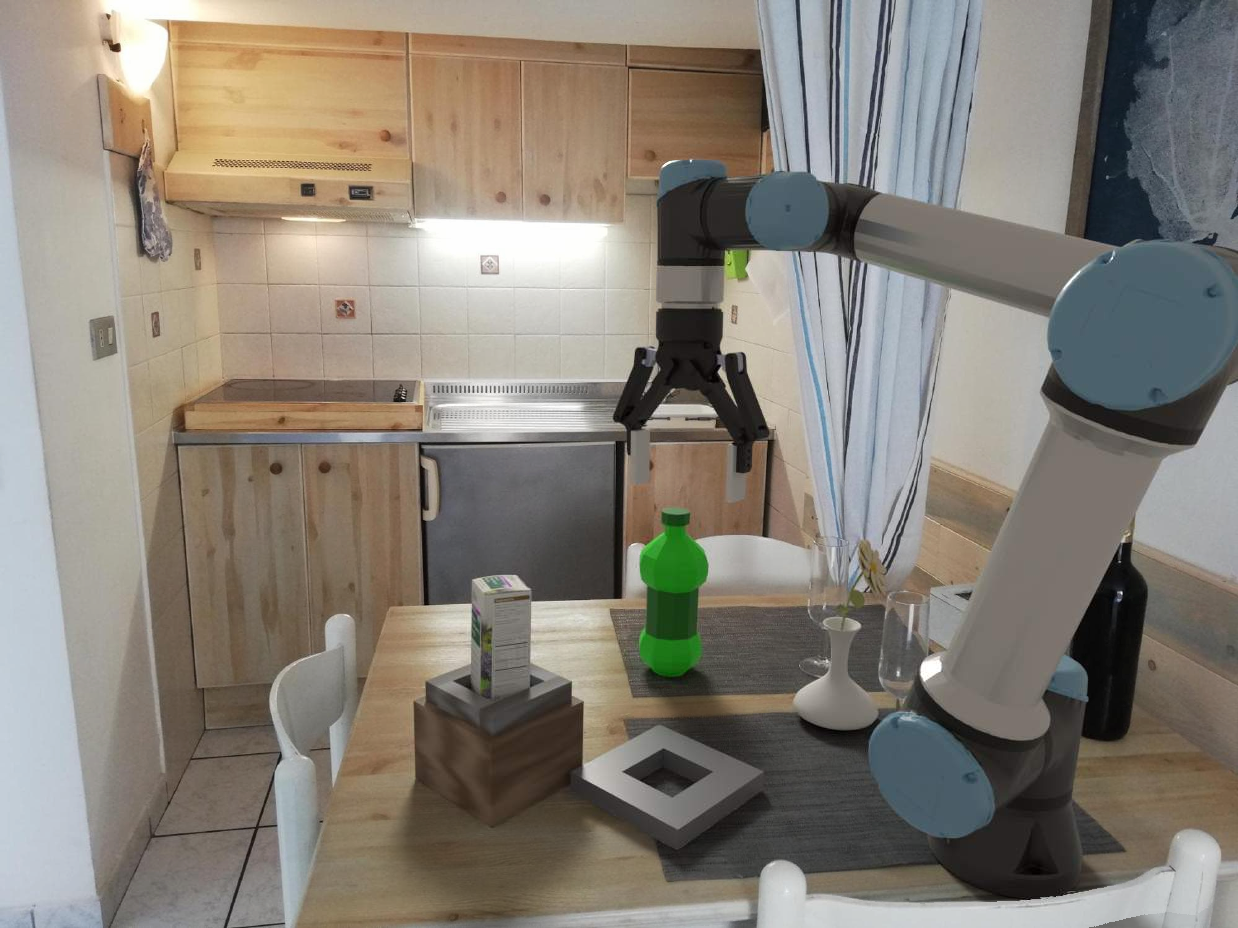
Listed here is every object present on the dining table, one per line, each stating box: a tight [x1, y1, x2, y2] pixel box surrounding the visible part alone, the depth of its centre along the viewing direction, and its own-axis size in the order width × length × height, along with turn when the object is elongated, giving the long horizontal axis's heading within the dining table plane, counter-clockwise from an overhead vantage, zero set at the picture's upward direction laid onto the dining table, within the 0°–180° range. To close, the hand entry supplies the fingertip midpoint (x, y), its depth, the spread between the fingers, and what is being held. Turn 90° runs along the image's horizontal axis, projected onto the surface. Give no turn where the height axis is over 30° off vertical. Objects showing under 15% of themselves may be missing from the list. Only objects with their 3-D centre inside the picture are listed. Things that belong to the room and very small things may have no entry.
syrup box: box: [470, 574, 532, 702], centre depth 108 cm, size 6×6×14 cm
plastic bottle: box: [638, 506, 710, 678], centre depth 139 cm, size 10×10×25 cm
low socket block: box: [569, 724, 765, 850], centre depth 109 cm, size 16×16×2 cm
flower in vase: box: [792, 539, 890, 731], centre depth 126 cm, size 13×11×25 cm
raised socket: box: [413, 662, 585, 828], centre depth 110 cm, size 14×14×12 cm
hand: (685, 491), depth 108 cm, fingers open, 13 cm apart
